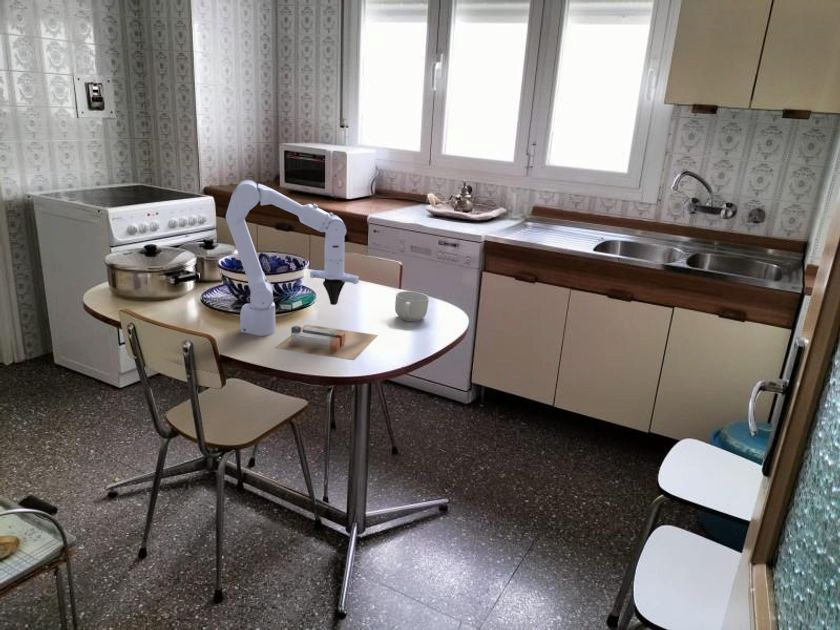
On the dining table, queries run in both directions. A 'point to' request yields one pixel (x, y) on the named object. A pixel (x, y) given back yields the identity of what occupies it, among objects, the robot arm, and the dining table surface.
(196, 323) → the dining table surface
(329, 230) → the robot arm
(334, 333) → the tong arm
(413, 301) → the teacup
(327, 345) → the tongs fixed half
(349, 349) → the board
